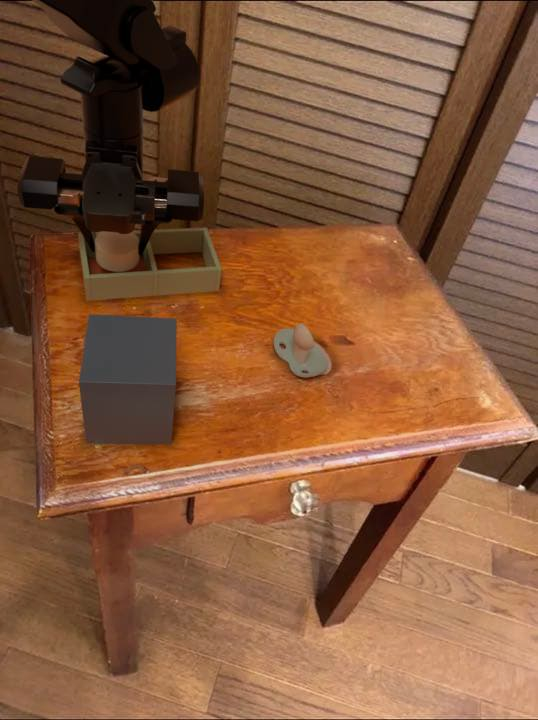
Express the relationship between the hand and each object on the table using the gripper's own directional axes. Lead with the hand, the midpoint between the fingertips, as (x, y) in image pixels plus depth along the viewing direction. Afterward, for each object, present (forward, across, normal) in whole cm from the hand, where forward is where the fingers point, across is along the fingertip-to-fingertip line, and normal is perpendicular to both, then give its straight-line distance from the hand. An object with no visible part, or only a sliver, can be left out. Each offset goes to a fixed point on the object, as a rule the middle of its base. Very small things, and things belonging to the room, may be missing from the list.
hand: (117, 251), depth 69 cm
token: (+1, 0, 0) cm, 1 cm away
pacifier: (+4, +22, -12) cm, 25 cm away
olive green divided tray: (+4, +4, +1) cm, 6 cm away
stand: (+4, +3, -20) cm, 21 cm away
